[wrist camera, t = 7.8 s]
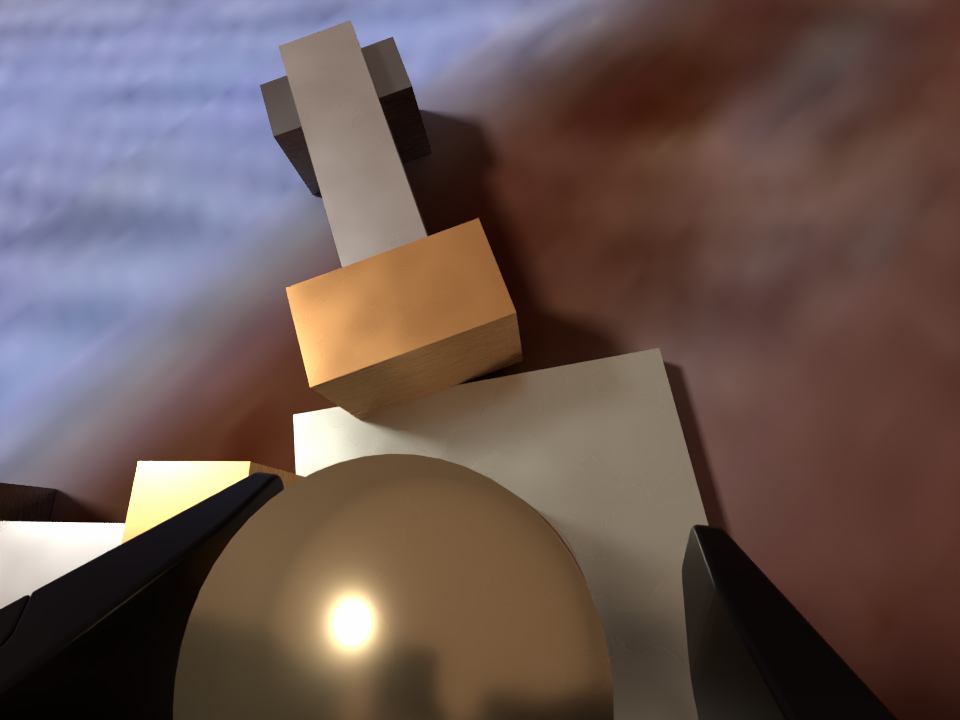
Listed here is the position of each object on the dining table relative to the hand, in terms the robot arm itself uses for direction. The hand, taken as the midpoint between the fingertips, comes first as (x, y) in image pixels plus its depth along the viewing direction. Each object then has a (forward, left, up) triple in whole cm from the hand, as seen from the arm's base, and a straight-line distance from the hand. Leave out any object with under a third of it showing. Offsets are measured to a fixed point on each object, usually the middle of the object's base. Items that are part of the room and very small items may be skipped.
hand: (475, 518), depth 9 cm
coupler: (0, -1, -8) cm, 8 cm away
